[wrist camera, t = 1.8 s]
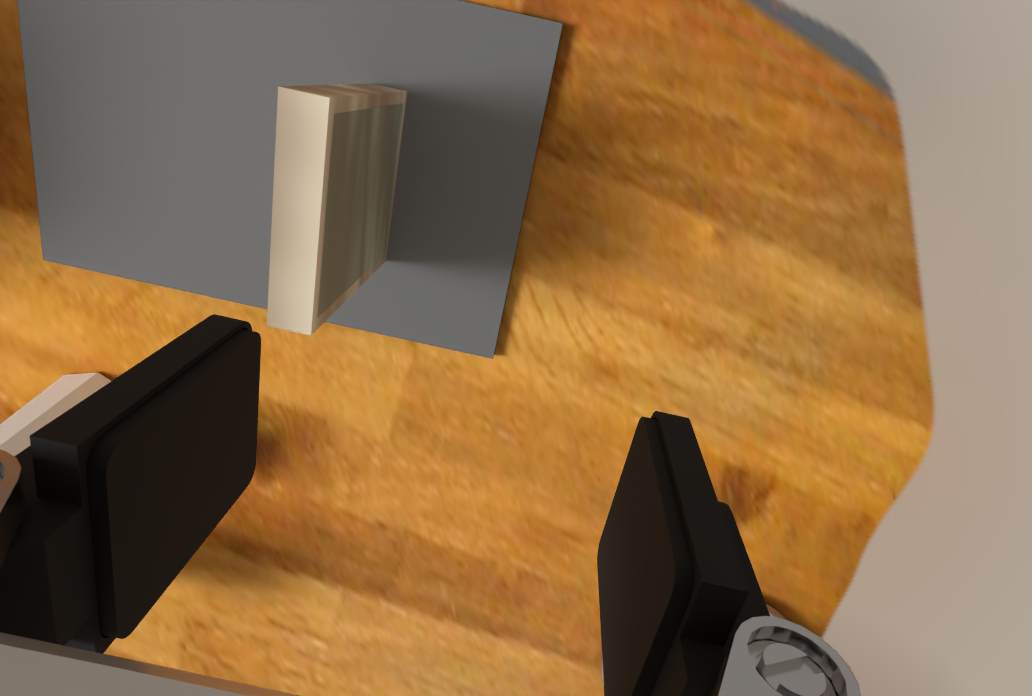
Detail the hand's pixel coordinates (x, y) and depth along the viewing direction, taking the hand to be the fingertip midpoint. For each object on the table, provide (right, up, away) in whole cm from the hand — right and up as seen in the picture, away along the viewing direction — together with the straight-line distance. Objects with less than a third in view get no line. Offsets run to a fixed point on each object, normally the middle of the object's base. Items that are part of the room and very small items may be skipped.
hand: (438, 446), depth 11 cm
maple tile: (-5, +10, +19) cm, 22 cm away
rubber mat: (-10, +11, +20) cm, 25 cm away
